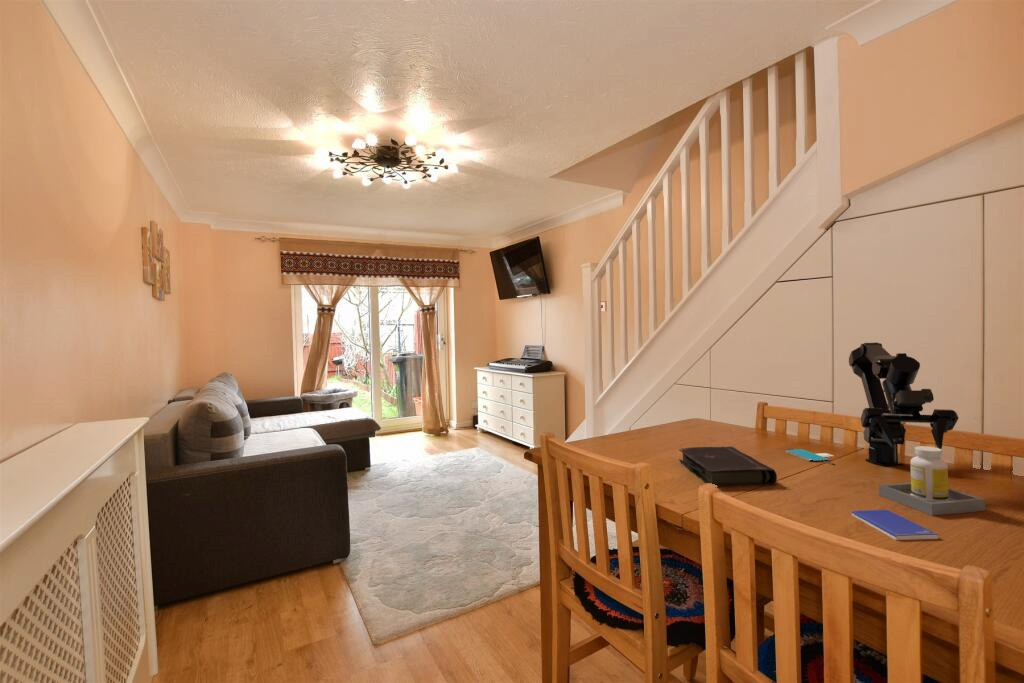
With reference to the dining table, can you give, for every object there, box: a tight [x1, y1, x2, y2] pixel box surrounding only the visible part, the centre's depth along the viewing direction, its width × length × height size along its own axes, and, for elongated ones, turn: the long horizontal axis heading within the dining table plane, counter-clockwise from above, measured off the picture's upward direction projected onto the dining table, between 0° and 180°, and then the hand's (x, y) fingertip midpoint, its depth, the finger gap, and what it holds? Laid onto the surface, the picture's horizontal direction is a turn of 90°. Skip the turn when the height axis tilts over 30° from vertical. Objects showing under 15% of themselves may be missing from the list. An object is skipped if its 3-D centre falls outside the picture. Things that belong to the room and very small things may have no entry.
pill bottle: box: [910, 445, 949, 502], centre depth 108 cm, size 6×6×12 cm
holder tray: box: [878, 481, 986, 517], centre depth 108 cm, size 13×13×2 cm
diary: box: [678, 446, 778, 488], centre depth 137 cm, size 19×25×5 cm
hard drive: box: [851, 509, 939, 541], centre depth 97 cm, size 2×8×12 cm
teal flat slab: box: [785, 447, 835, 466], centre depth 149 cm, size 20×12×2 cm, turn 5°
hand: (916, 447), depth 115 cm, fingers open, 9 cm apart
